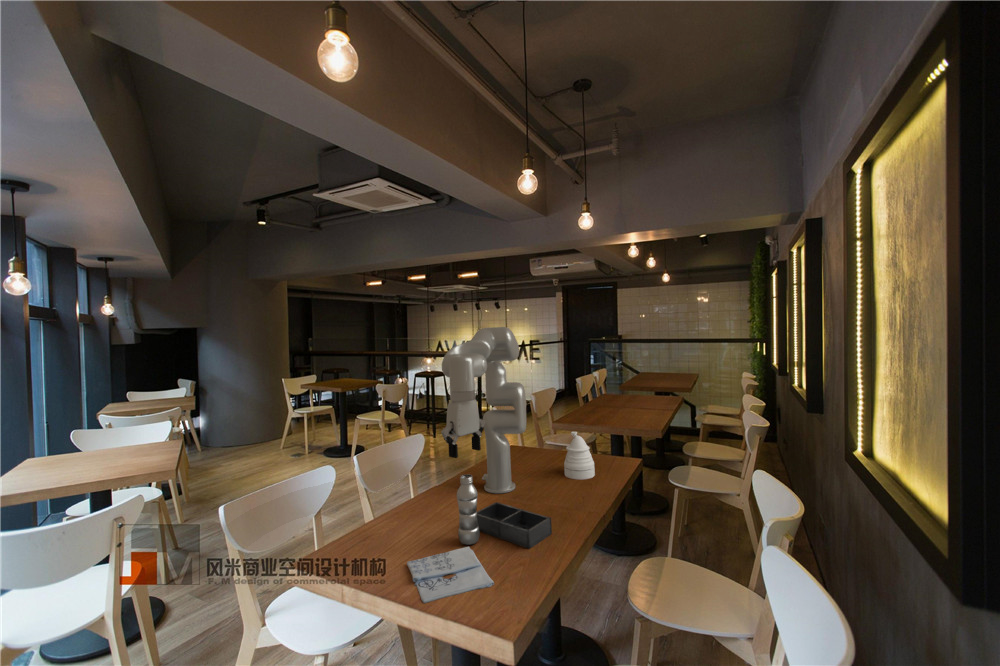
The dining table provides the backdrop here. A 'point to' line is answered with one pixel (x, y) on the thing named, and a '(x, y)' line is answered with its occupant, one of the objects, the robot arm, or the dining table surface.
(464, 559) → the folded bicycle print cloth
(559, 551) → the dining table surface
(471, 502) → the grey stacked bottle
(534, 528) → the divided tray
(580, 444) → the honey pot
